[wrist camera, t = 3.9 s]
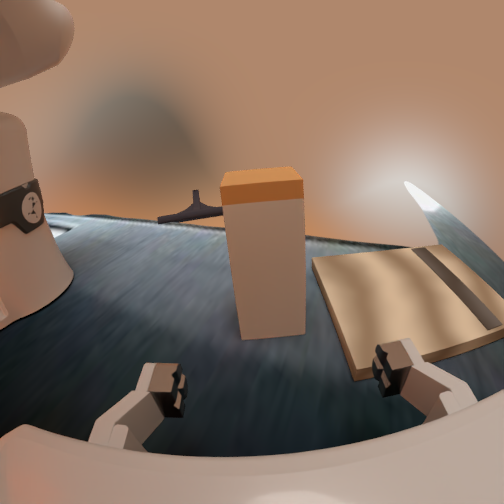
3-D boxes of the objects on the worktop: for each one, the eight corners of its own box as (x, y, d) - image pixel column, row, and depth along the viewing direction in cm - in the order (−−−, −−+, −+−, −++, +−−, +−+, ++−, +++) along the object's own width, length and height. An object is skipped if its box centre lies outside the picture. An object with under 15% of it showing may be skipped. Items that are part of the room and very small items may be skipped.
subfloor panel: (354, 381, 17) (356, 368, 17) (311, 267, 32) (311, 256, 31) (518, 330, 17) (524, 319, 16) (440, 253, 31) (441, 243, 31)
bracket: (228, 195, 66) (227, 183, 65) (237, 214, 53) (236, 199, 52) (166, 206, 65) (163, 194, 63) (159, 228, 51) (155, 213, 50)
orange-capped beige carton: (241, 340, 23) (219, 186, 17) (242, 302, 27) (225, 171, 22) (305, 334, 22) (302, 179, 17) (296, 297, 27) (290, 166, 22)
